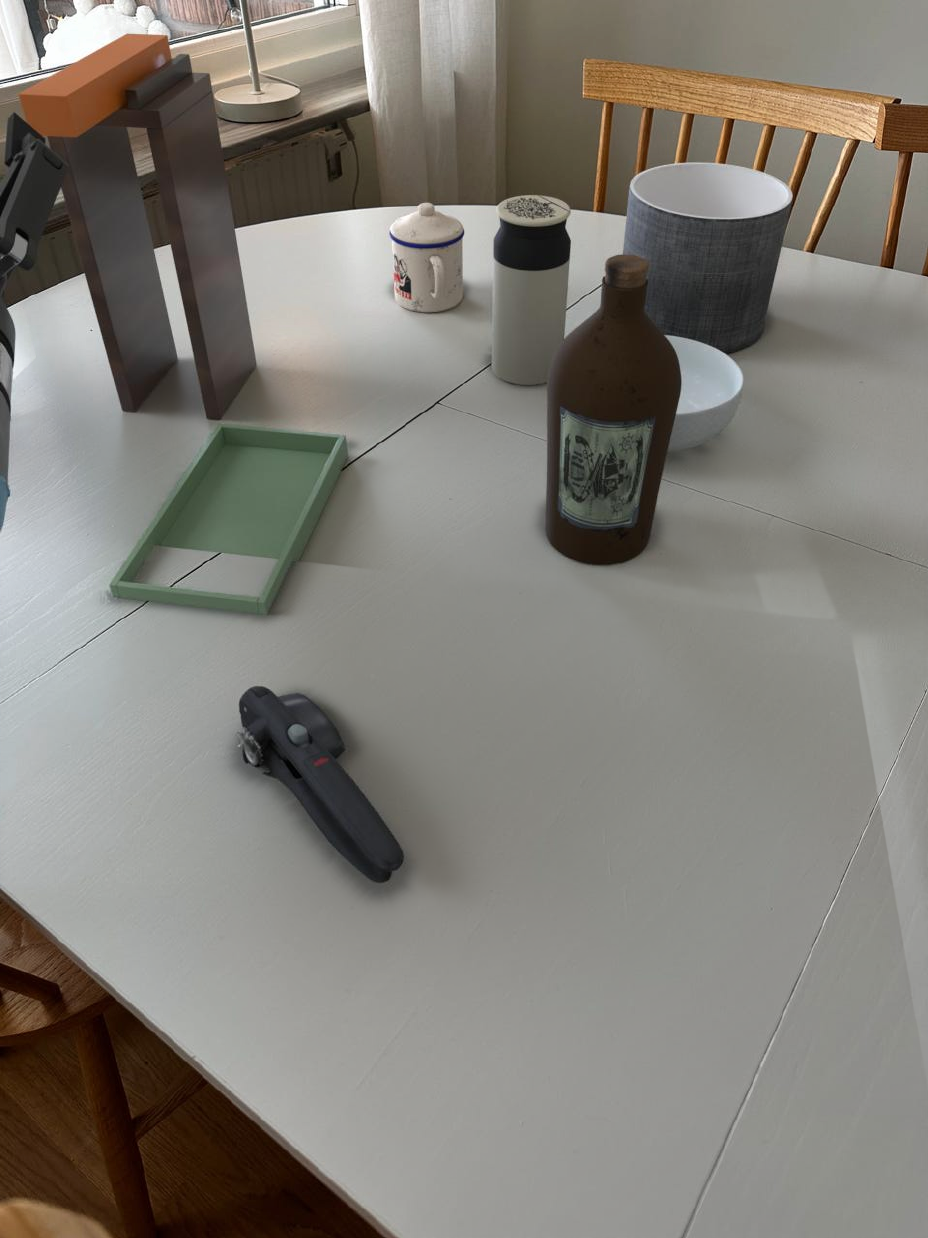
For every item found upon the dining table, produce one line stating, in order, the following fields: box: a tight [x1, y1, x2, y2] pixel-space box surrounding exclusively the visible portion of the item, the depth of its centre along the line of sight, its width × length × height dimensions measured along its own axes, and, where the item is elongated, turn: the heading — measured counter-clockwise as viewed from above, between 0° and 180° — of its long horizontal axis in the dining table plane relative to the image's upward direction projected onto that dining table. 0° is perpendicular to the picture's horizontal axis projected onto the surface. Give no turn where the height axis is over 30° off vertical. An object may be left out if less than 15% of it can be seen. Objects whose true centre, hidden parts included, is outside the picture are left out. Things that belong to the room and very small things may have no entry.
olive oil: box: [544, 253, 682, 566], centre depth 80 cm, size 11×11×25 cm
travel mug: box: [491, 194, 572, 386], centre depth 104 cm, size 8×8×18 cm
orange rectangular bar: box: [18, 33, 173, 137], centre depth 84 cm, size 4×20×3 cm, turn 170°
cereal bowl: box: [665, 335, 745, 453], centre depth 98 cm, size 17×17×7 cm
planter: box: [622, 162, 794, 354], centre depth 114 cm, size 18×18×16 cm
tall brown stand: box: [46, 53, 258, 421], centre depth 97 cm, size 11×12×32 cm
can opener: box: [235, 685, 405, 884], centre depth 65 cm, size 18×7×6 cm, turn 35°
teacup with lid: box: [389, 202, 465, 313], centre depth 119 cm, size 12×9×12 cm
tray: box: [109, 422, 349, 616], centre depth 89 cm, size 13×25×2 cm, turn 170°
